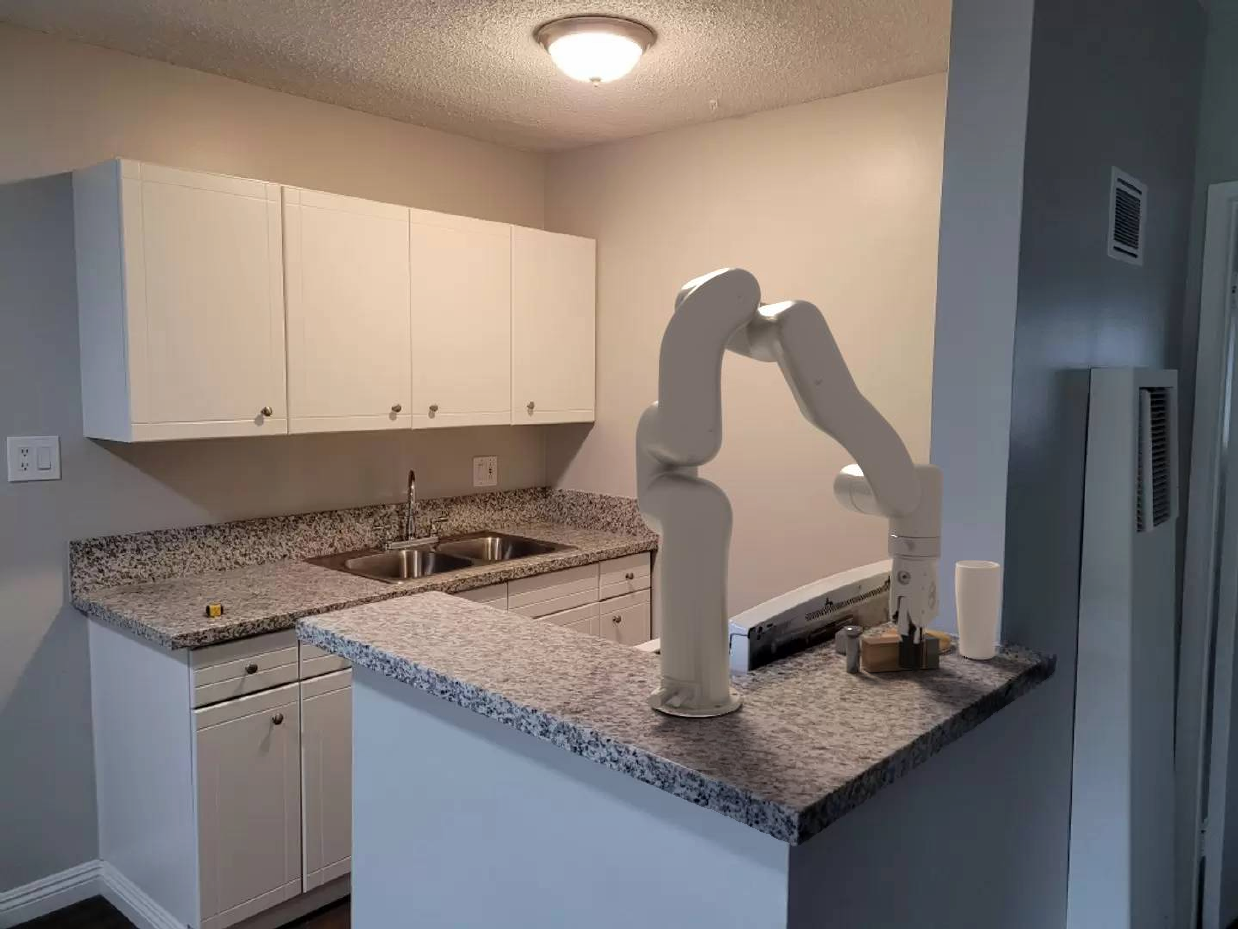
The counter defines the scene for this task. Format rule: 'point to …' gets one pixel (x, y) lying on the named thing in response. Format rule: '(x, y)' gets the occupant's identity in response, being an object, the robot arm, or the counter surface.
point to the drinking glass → (977, 607)
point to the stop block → (840, 641)
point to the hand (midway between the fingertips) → (910, 667)
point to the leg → (895, 653)
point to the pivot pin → (853, 648)
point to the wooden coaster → (943, 638)
